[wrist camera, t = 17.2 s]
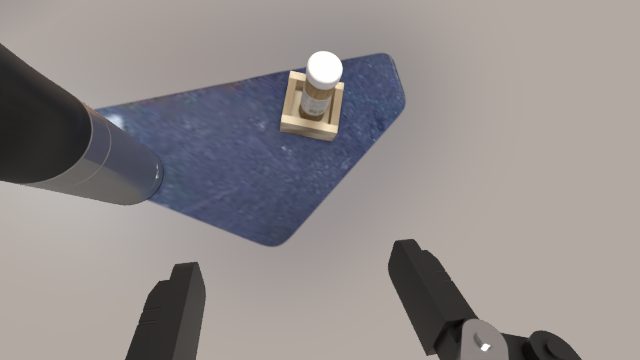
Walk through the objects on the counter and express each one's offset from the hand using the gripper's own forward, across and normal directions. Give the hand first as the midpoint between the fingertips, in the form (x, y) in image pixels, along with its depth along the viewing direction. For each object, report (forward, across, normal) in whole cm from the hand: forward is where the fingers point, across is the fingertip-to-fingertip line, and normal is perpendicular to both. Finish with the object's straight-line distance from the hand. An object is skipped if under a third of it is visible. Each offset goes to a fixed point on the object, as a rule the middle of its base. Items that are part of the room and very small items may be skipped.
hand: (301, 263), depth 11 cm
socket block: (+38, -7, +8) cm, 40 cm away
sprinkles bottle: (+38, -7, +8) cm, 39 cm away
